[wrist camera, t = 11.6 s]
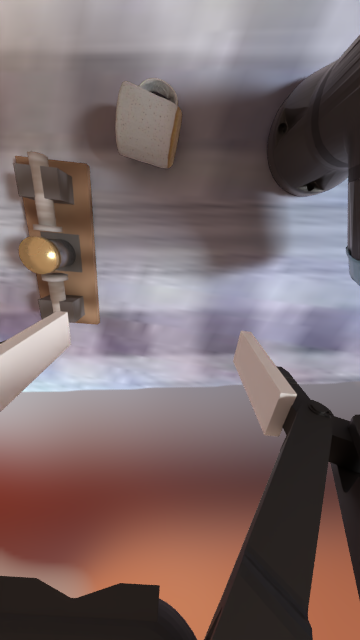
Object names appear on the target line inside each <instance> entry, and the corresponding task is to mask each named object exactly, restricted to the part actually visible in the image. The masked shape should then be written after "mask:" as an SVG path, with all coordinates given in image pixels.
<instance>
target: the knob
mask: <svg viewBox="0 0 360 640" xmlns="http://www.w3.org/2000/svg"><path fill="white" fill-rule="evenodd" d="M19 256H20V259H21V261H22V263H23V264H24V265H25V266H26V267H27V268H28V269H29V270H30V271H32V272H34V273H37V274H47V273H51V272H54V271H56V270H57V269H59V268H63V267H67V266H70V265H72V264H73V263H74V261H75V259H76V253H75V250H74V248H73V246H72V245H71V244H70V243H69V242H67V241H65V240H63V239H47V238H44V237H27V238H25V239H24V240H23V241H22V242H21V243H20V245H19Z"/></svg>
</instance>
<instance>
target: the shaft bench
mask: <svg viewBox="0 0 360 640" xmlns="http://www.w3.org/2000/svg"><path fill="white" fill-rule="evenodd" d="M27 154H28V157H21V156H15V158H16V163H13V165H14V171H15V176H16V182H17V187H18V193H19V196H22V197H23V203H24V208H25V214H26V220H27V225H28V231H29V236H30V237H44V238H47V239H63V240H65V241H67V242H69V243H70V244H71V245H72V246H73V248H74V250H75V253H76V259H75V261H74V263H73V264H72V265H70V266H67V267H63V268H59V269H57V270H56V271H54V272H51V273H47V274H37V273H36V276H37V281H38V287H39V293H40V298H41V299H38V302H39V307H40V313H41V318H42V320H43V319H44V318H46V317H48V316H49V315H51V314H53V313H55V312H56V311H62V312H68V321H69V322H70V323H86V324H99V323H100V316H99V301H98V286H97V271H96V256H95V242H94V227H93V212H92V197H91V182H90V167H89V165H87V164H85V163H76V162H67V161H57V160H48V157H47V156H45V155H43V154H40V153H37V152H27Z"/></svg>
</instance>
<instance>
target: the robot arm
mask: <svg viewBox="0 0 360 640" xmlns="http://www.w3.org/2000/svg"><path fill="white" fill-rule="evenodd" d="M267 153H268V163H269V167H270V170H271V173H272V175H273V177H274V179H275V181H276V182H277V183H278V185H279V186H280V187H281V188H282V189H284V190H285V191H287V192H288V193H290V194H293V195H296V196H312V195H316V194H319V193H322V192H325V191H327V190H330V189H332V188H334V187H335V186H337V185H339V184H340V183H341V182H343V181H344V180H345V179H346V178H348V245H347V247H346V254H347V256H348V260H349V273H350V276H351V278H352V279H353V280H354V281H355V282H356V283H357V284H358V285H359V286H360V35H359V36H358V38H357V39H356V40H355V41H354V42H353V43H352V44H351V46H350V47H349V48H348V49H347V50H346V51H345V52H344V54H343V55H342V56H341V57H340V58H339V59H338V60H336V61H334V62H333V63H331V64H329V65H327V66H325V67H323V68H322V69H320V70H318V71H316V72H314V73H313V74H311V75H310V76H308V77H307V78H306V79H305V80H303V81H302V82H301V83H300V84H299V85H298V86H297V87H296V88H295V89H294V90H293V92H292V93H291V94H290V95H289V97H288V98H287V99H286V101H285V102H284V103H283V105H282V106H281V108H280V109H279V111H278V113H277V115H276V117H275V119H274V121H273V124H272V127H271V130H270V134H269V139H268V150H267ZM70 345H71V339H70V330H69V321H68V312H62V311H56V312H55V313H53V314H51V315H49V316H48V317H46V318H44V319H43V320H41V321H39V322H37V323H36V324H34V325H32V326H30V327H29V328H27V329H25V330H24V331H22V332H20V333H18V334H17V335H15V336H13V337H12V338H10V339H8V340H5V341H3V342H0V412H1V411H2V410H3V409H4V408H5V407H6V406H7V405H8V404H9V403H10V402H11V401H12V400H14V399H15V397H16V396H18V395H19V394H20V393H21V392H22V391H23V390H24V389H25V388H26V387H27V386H28V385H29V384H30V383H31V382H32V381H33V380H34V379H35V378H37V377H38V376H39V375H40V374H41V373H42V372H43V371H44V370H45V369H46V368H47V367H48V366H49V365H50V364H51V363H52V362H53V361H54V360H55V359H56V358H57V357H58V356H60V355H61V354H62V353H63V352H64V351H65V350H66V349H67V348H68V347H69V346H70ZM233 362H234V364H235V367H236V369H237V371H238V374H239V376H240V378H241V381H242V383H243V386H244V388H245V390H246V392H247V395H248V397H249V400H250V402H251V404H252V407H253V409H254V412H255V414H256V416H257V419H258V421H259V423H260V426H261V428H262V430H263V433H264V435H270V436H279V435H280V433H281V431H282V428H283V429H284V431H285V433H286V435H287V436H286V438H285V440H284V443H283V445H282V447H281V449H280V453H279V455H278V458H277V460H276V463H275V465H274V468H273V470H272V473H271V475H270V478H269V480H268V483H267V485H266V488H265V491H264V493H263V495H262V498H261V500H260V503H259V505H258V508H257V510H256V513H255V515H254V518H253V520H252V523H251V526H250V528H249V530H248V533H247V535H246V538H245V541H244V543H243V545H242V548H241V550H240V553H239V556H238V558H237V560H236V563H235V565H234V568H233V571H232V573H231V575H230V578H229V580H228V583H227V585H226V588H225V590H224V593H223V595H222V598H221V600H220V603H219V605H218V607H217V610H216V612H215V614H214V617H213V619H212V621H211V624H210V626H209V629H208V631H207V634H206V636H205V639H204V640H313V638H312V628H311V625H310V623H309V621H308V605H309V597H310V590H311V583H312V575H313V568H314V561H315V554H316V547H317V540H318V532H319V525H320V518H321V511H322V504H323V496H324V489H325V482H326V474H327V468H328V462H331V467H332V471H333V476H334V481H335V486H336V490H337V495H338V499H339V505H340V509H341V514H342V519H343V523H344V528H345V533H346V537H347V542H348V547H349V552H350V556H351V561H352V565H353V570H354V575H355V580H356V585H357V589H358V594H359V599H360V415H355V416H353V417H352V419H351V421H347V420H344V419H341V418H338V417H335V416H334V415H333V414H332V412H331V411H330V410H329V409H328V408H327V407H325V406H324V405H322V404H320V403H319V402H316V401H314V400H310V398H309V397H308V396H307V395H306V393H305V392H304V391H303V390H302V388H301V387H300V386H299V385H298V384H297V382H296V381H295V380H294V379H293V377H292V376H291V375H290V373H289V372H287V371H286V370H285V369H283V368H282V367H277V366H276V365H275V364H274V363H273V361H272V360H271V359H270V357H269V356H268V355H267V353H266V352H265V351H264V349H263V348H262V347H261V345H260V344H259V343H258V341H257V340H256V338H255V337H254V336H253V334H252V333H251V332H246V331H241V333H240V336H239V340H238V344H237V348H236V352H235V356H234V360H233ZM159 587H160V586H158V585H142V584H141V585H140V584H124V583H120V584H117V585H114V586H111V587H108V588H105V589H102V590H99V591H96V592H93V593H90V594H88V595H85V596H81V597H79V598H70V597H68V596H66V595H65V594H63V593H61V592H59V591H58V590H56V589H54V588H52V587H51V586H49V585H47V584H46V583H44V582H42V581H40V580H39V579H37V578H24V577H7V576H0V640H197V639H196V637H195V635H194V633H193V631H192V630H191V628H190V627H189V625H188V624H187V623H186V621H185V620H184V619H183V617H182V616H181V615H180V614H179V613H178V612H177V611H176V610H175V609H174V608H173V607H171V606H170V605H169V604H168V603H166V602H164V601H163V600H161V599H159Z"/></svg>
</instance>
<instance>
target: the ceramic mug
mask: <svg viewBox="0 0 360 640" xmlns="http://www.w3.org/2000/svg"><path fill="white" fill-rule="evenodd" d="M151 92H157V93H160V94H161V95H163V96H165V97H166V98H168V99H170V100H171V101H169V100H167V99H165V98H162V97H160V96H157V95H155V94H153V93H151ZM181 122H182V112H181V109H180V108H179V107H178V100H177V95H176V93H175V91H174V89H173V88H172V87H171V86H170V85H169V84H168V83H166V82H165V81H163V80H161V79H157V78H149V79H147V80H145V81H143V82H142V83H141V84H140V85H139V86H137V85H134V84H132V83H130V82H128V81H124V82H123V83H122V85H121V88H120V91H119V95H118V100H117V108H116V122H115V133H116V144H117V148H118V151H119V153H120V154H121V155H122V156H125V157H129V158H132V159H135V160H138V161H141V162H145V163H148V164H151V165H154V166H157V167H160V168H170V167H171V166H172V165H173V161H174V157H175V153H176V148H177V143H178V139H179V133H180V128H181Z"/></svg>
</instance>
